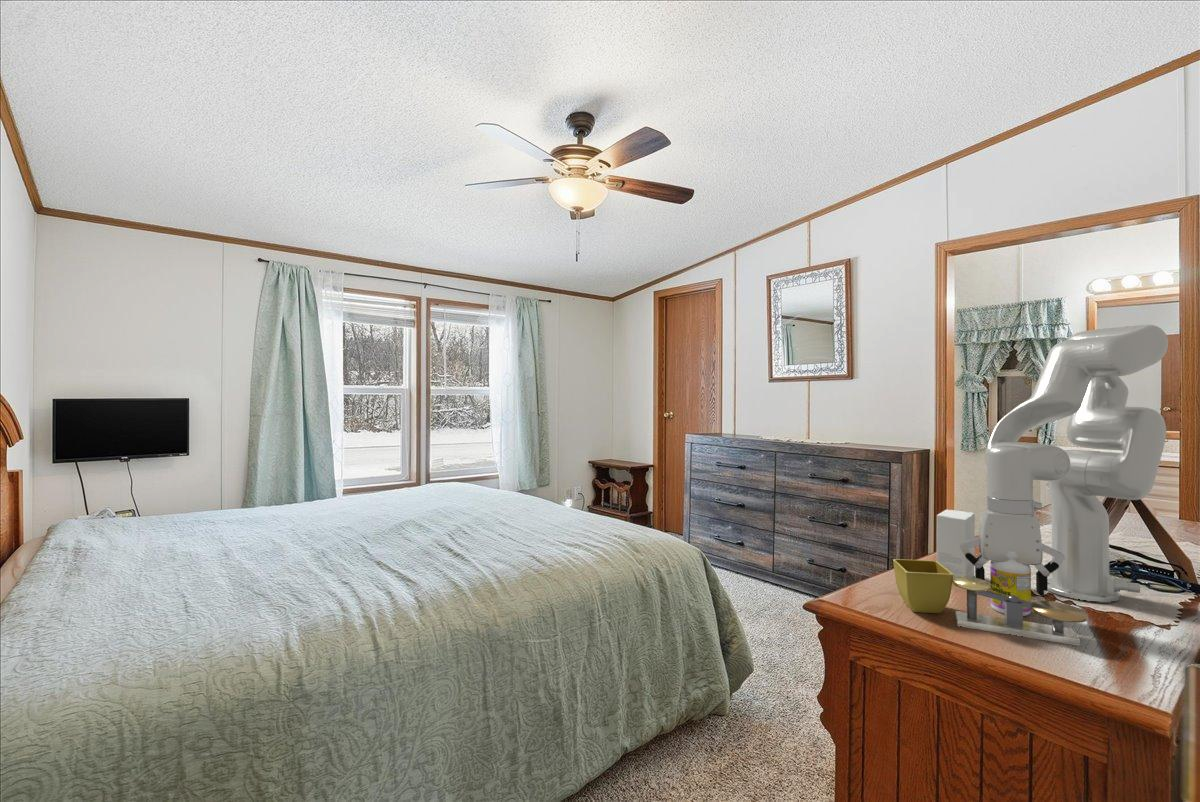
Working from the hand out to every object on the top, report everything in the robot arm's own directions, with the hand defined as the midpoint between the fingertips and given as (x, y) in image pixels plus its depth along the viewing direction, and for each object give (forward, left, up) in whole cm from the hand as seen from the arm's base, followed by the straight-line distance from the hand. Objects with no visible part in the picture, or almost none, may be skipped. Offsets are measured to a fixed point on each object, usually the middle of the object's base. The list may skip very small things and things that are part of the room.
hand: (1010, 589), depth 111 cm
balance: (+1, +11, -4) cm, 12 cm away
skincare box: (+8, -19, -5) cm, 21 cm away
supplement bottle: (0, 0, -4) cm, 4 cm away
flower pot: (+16, +7, -5) cm, 18 cm away
